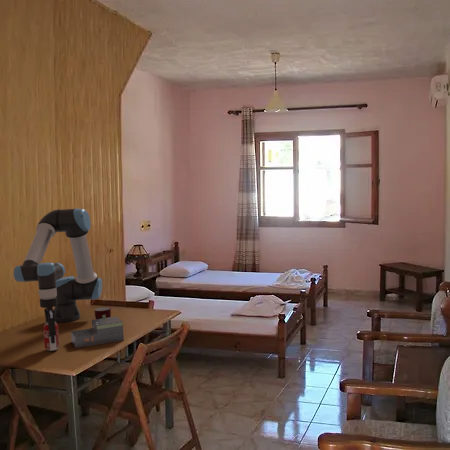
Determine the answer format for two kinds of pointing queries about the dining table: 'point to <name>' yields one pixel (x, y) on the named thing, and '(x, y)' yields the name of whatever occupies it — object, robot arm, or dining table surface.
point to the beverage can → (46, 338)
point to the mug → (102, 312)
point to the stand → (99, 332)
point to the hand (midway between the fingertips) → (52, 347)
